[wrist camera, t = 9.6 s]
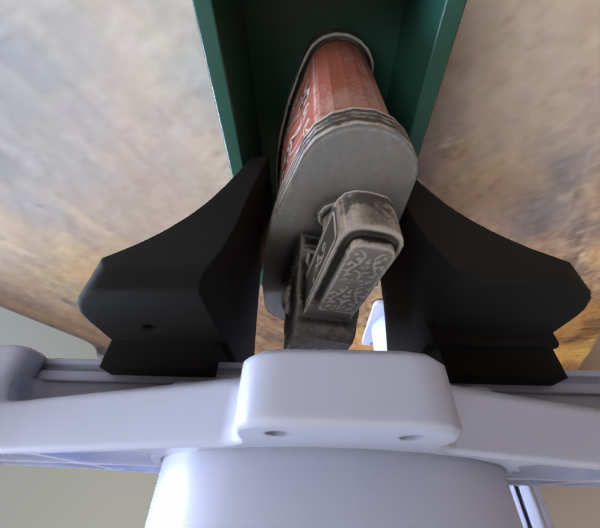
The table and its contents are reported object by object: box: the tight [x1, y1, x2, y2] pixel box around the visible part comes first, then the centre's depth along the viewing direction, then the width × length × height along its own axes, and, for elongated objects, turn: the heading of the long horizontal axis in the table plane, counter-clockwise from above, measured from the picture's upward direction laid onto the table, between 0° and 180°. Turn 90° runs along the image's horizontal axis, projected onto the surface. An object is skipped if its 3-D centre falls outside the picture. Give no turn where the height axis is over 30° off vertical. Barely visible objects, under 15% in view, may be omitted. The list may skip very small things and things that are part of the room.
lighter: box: [262, 26, 418, 350], centre depth 10 cm, size 8×3×10 cm, turn 167°
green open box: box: [192, 0, 467, 286], centre depth 12 cm, size 6×12×4 cm, turn 1°
